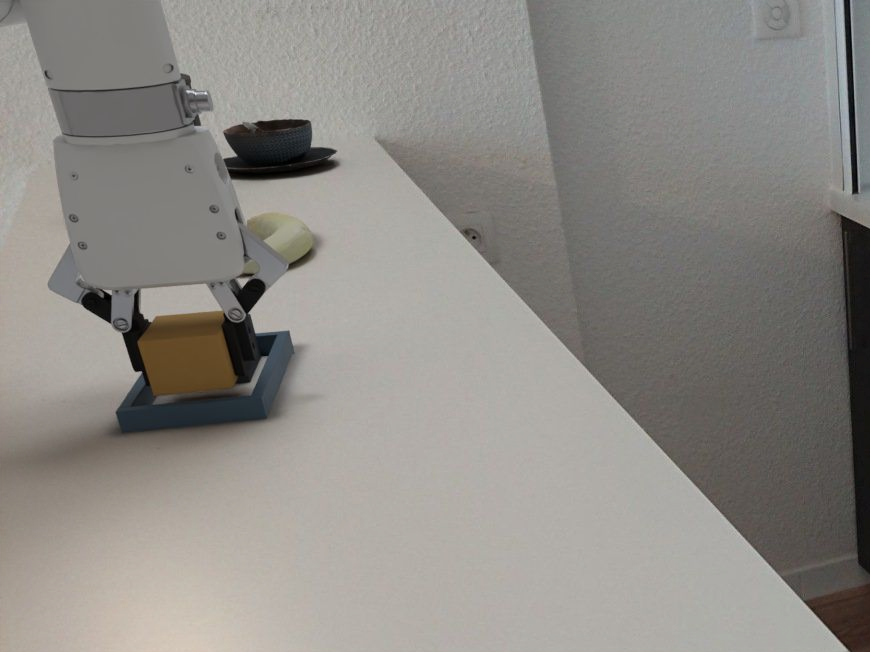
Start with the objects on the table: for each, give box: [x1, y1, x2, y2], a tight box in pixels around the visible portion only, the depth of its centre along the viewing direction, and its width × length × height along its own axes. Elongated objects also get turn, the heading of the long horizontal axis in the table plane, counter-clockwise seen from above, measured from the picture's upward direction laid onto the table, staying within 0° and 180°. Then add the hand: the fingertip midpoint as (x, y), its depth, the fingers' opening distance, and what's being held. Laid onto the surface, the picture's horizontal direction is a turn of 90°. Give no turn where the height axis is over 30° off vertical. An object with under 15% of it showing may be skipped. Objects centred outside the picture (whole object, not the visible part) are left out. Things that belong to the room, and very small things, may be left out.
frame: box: [114, 330, 295, 434], centre depth 96 cm, size 16×9×2 cm, turn 18°
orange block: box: [137, 309, 238, 397], centre depth 91 cm, size 6×5×4 cm
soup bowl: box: [222, 118, 338, 174], centre depth 168 cm, size 15×16×7 cm
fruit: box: [242, 211, 315, 275], centre depth 131 cm, size 7×15×3 cm, turn 18°
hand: (200, 372), depth 92 cm, fingers closed on orange block, 5 cm apart
